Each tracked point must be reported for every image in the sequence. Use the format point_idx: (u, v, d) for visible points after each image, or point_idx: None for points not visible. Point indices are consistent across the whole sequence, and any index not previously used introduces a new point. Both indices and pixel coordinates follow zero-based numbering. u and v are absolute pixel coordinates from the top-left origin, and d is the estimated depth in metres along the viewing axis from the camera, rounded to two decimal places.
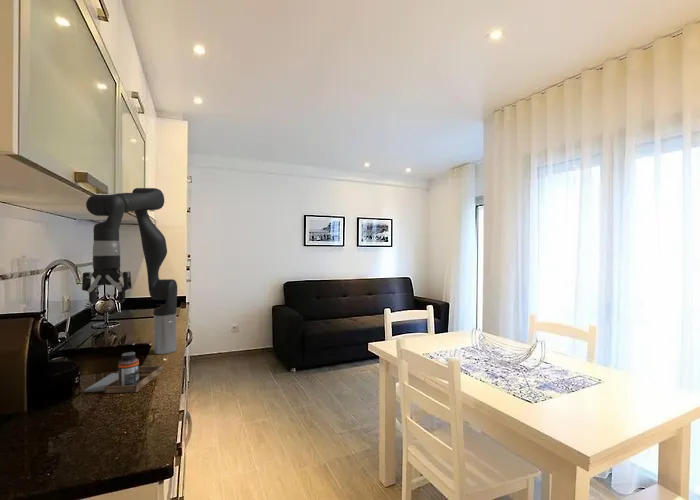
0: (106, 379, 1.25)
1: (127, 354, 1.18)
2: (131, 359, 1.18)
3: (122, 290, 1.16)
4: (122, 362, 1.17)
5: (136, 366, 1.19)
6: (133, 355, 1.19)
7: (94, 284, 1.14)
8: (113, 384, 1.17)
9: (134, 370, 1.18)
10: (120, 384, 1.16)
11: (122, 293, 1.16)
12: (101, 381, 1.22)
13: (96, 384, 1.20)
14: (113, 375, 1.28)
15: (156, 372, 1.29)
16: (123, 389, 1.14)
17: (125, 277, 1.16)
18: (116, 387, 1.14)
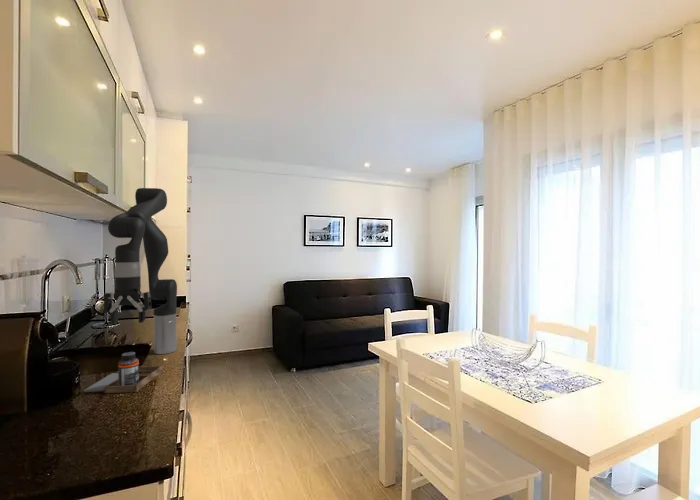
0: (106, 379, 1.25)
1: (127, 354, 1.18)
2: (131, 359, 1.18)
3: (143, 310, 1.19)
4: (122, 362, 1.17)
5: (136, 366, 1.19)
6: (133, 355, 1.19)
7: (116, 305, 1.17)
8: (113, 384, 1.17)
9: (134, 370, 1.18)
10: (120, 384, 1.16)
11: (143, 313, 1.19)
12: (101, 381, 1.22)
13: (96, 384, 1.20)
14: (113, 375, 1.28)
15: (156, 372, 1.29)
16: (123, 389, 1.14)
17: (146, 297, 1.19)
18: (116, 387, 1.14)
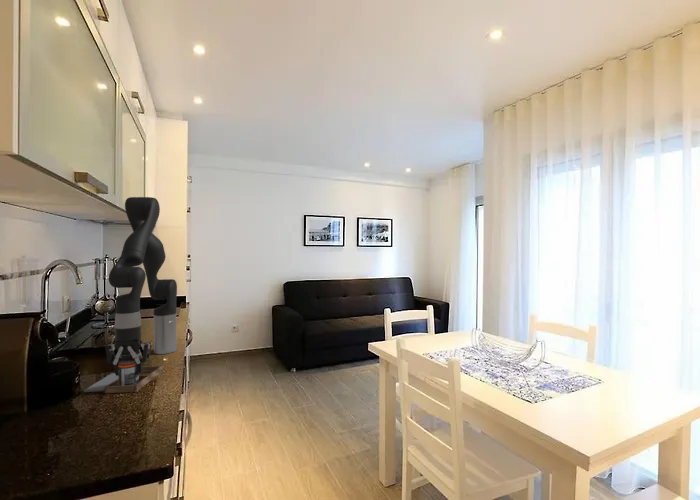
0: (106, 379, 1.25)
1: (127, 354, 1.18)
2: (131, 359, 1.18)
3: (140, 362, 1.19)
4: (122, 362, 1.17)
5: None
6: None
7: (118, 356, 1.17)
8: (113, 384, 1.17)
9: (134, 370, 1.18)
10: (120, 384, 1.16)
11: (140, 365, 1.19)
12: (101, 381, 1.22)
13: (96, 384, 1.20)
14: (113, 375, 1.28)
15: (156, 372, 1.29)
16: (123, 389, 1.14)
17: (145, 349, 1.18)
18: (116, 387, 1.14)
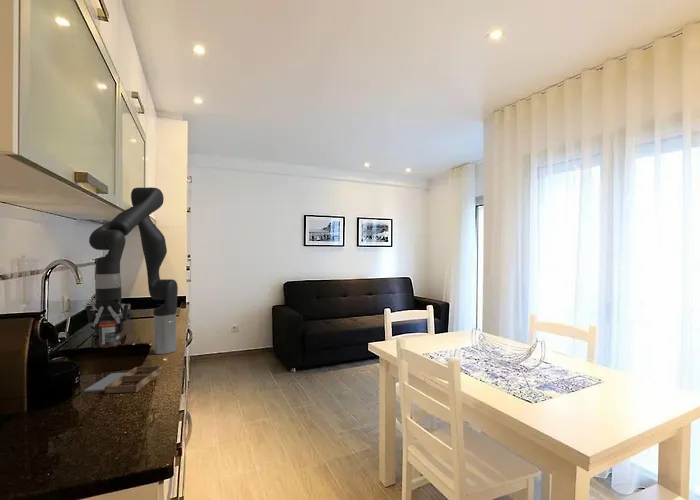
0: (106, 379, 1.25)
1: (107, 314, 1.22)
2: (111, 319, 1.22)
3: (120, 322, 1.23)
4: (103, 321, 1.21)
5: None
6: None
7: (98, 316, 1.21)
8: (113, 384, 1.17)
9: (115, 329, 1.22)
10: (101, 342, 1.20)
11: (120, 324, 1.23)
12: (101, 381, 1.22)
13: (96, 384, 1.20)
14: (113, 375, 1.28)
15: (156, 372, 1.29)
16: (123, 389, 1.14)
17: (125, 310, 1.22)
18: (116, 387, 1.14)
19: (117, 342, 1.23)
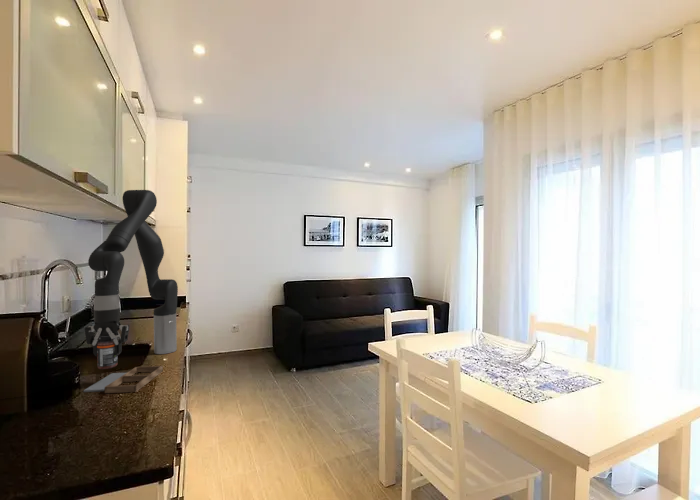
0: (106, 379, 1.25)
1: None
2: (109, 340, 1.22)
3: (118, 343, 1.23)
4: (101, 343, 1.20)
5: (114, 347, 1.22)
6: None
7: (97, 337, 1.21)
8: (113, 384, 1.17)
9: (113, 351, 1.22)
10: (98, 364, 1.20)
11: (118, 346, 1.23)
12: (101, 381, 1.22)
13: (96, 384, 1.20)
14: (113, 375, 1.28)
15: (156, 372, 1.29)
16: (123, 389, 1.14)
17: (123, 331, 1.22)
18: (116, 387, 1.14)
19: (115, 363, 1.23)
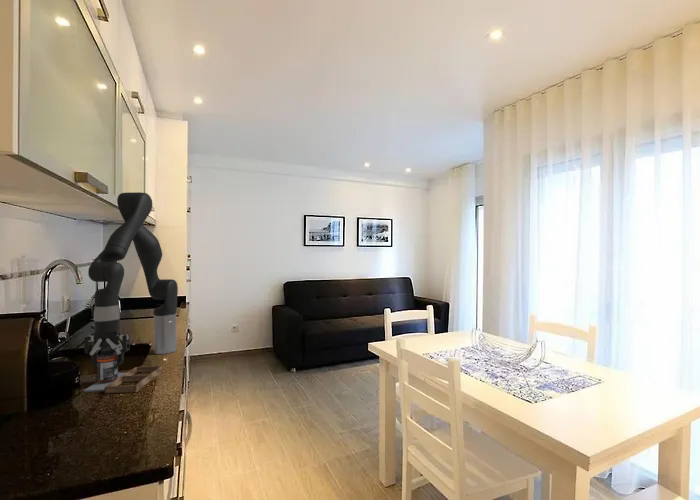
0: None
1: (106, 349, 1.22)
2: (110, 354, 1.22)
3: (121, 352, 1.23)
4: (101, 356, 1.21)
5: (115, 360, 1.23)
6: (112, 350, 1.23)
7: (95, 347, 1.21)
8: (113, 384, 1.17)
9: (113, 364, 1.22)
10: (99, 378, 1.20)
11: (121, 355, 1.23)
12: None
13: (96, 384, 1.20)
14: None
15: (156, 372, 1.29)
16: (123, 389, 1.14)
17: (124, 340, 1.22)
18: (116, 387, 1.14)
19: (115, 377, 1.23)
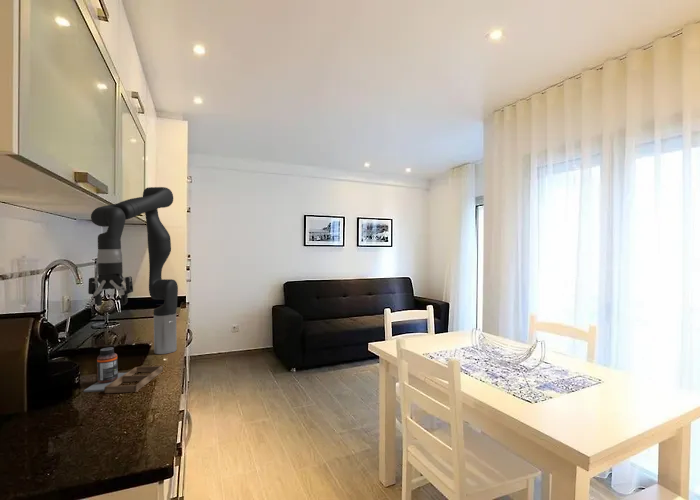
0: None
1: (105, 349, 1.22)
2: (109, 354, 1.22)
3: (125, 293, 1.28)
4: (101, 357, 1.21)
5: (114, 361, 1.23)
6: (111, 350, 1.23)
7: (99, 288, 1.27)
8: (113, 384, 1.17)
9: (113, 365, 1.22)
10: (99, 378, 1.20)
11: (125, 296, 1.29)
12: None
13: (96, 384, 1.20)
14: None
15: (156, 372, 1.29)
16: (123, 389, 1.14)
17: (127, 282, 1.28)
18: (116, 387, 1.14)
19: (115, 377, 1.23)
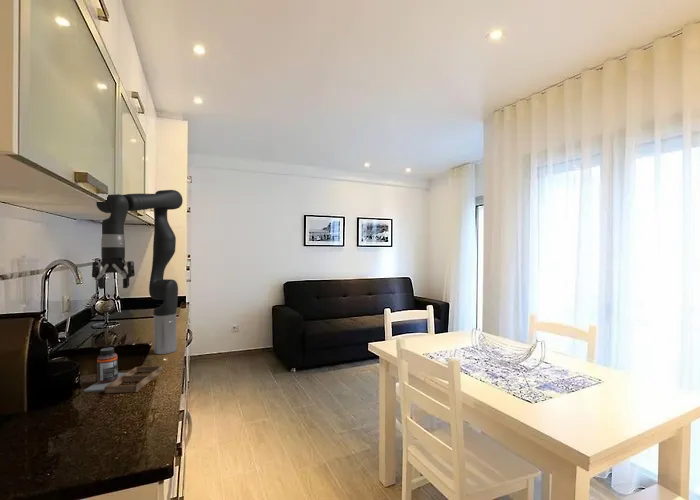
0: None
1: (106, 349, 1.22)
2: (109, 354, 1.22)
3: (126, 277, 1.34)
4: (101, 357, 1.21)
5: (115, 361, 1.23)
6: (112, 350, 1.23)
7: (102, 272, 1.32)
8: (113, 384, 1.17)
9: (113, 365, 1.22)
10: (99, 378, 1.20)
11: (126, 280, 1.34)
12: None
13: (96, 384, 1.20)
14: None
15: (156, 372, 1.29)
16: (123, 389, 1.14)
17: (129, 266, 1.33)
18: (116, 387, 1.14)
19: (115, 377, 1.23)
